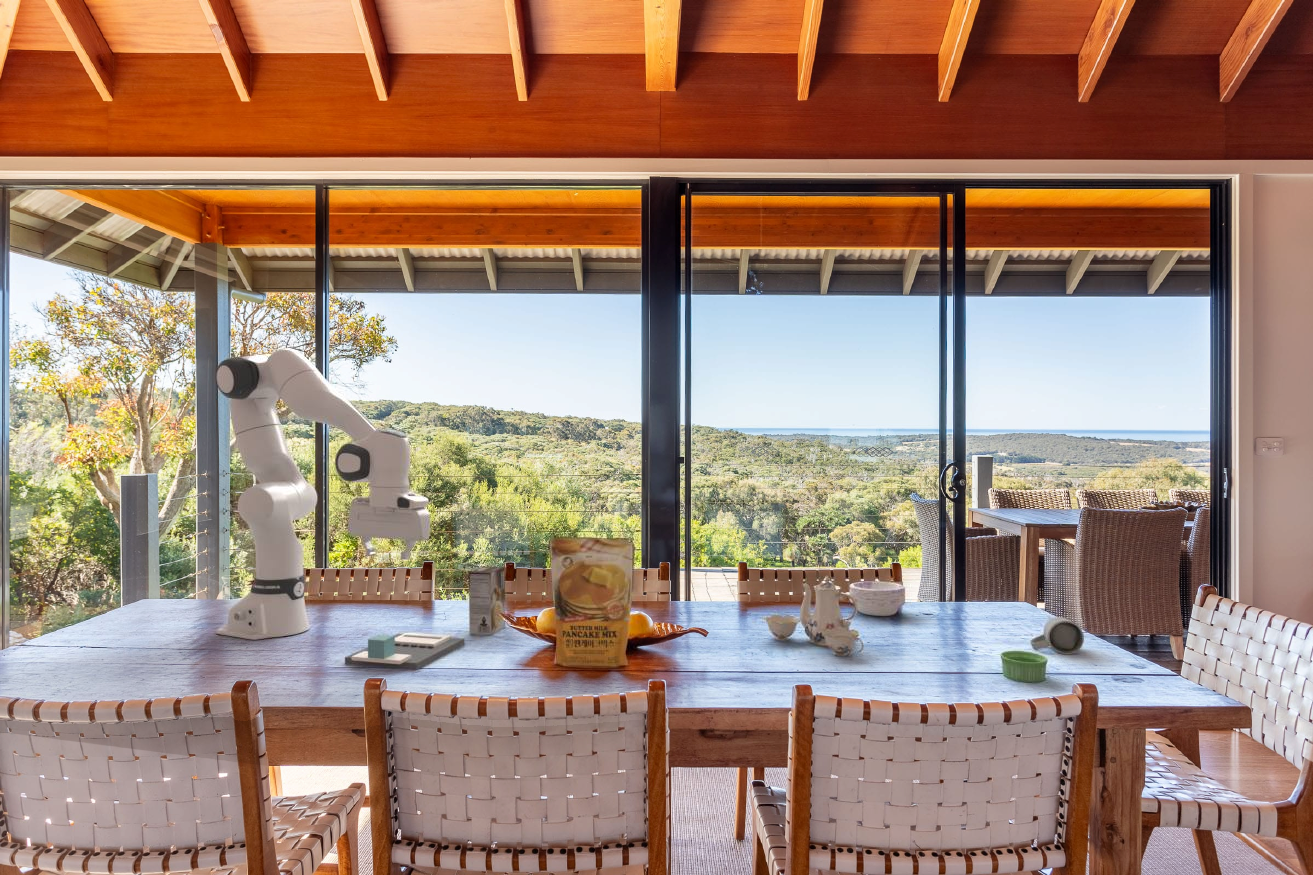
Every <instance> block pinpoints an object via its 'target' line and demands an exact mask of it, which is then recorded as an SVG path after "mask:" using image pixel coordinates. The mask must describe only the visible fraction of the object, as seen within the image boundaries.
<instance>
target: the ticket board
mask: <svg viewBox="0 0 1313 875" xmlns="http://www.w3.org/2000/svg"><path fill="white" fill-rule="evenodd" d="M394 636H395V654H405V655H411V659H409V660H407V661H405V662H403V663H401V664H391V663H379V662H367V661H355V660H352V656H354V655H356V654H359V653H361V652H363V651H368V647H366V648H363V649H361V650H359V651H355V652H354V653H352V654H350V655H346V656H345V657H344V664H345V665H351V666H352V665H354V666H361V667H362V666H363V667H364V666H365V667H375V668H376V667H377V668H387V669H388V668H389V669H398V668H400V669H401V670H412V671H418V670H420V669H422V668H424V667H425V666H427V665H429V664H431V663H433V662H435V661H437V660H439V659H441V658H443V657H444V656H446V655H448V654H450V653H452V652H454V651H455V650H457V649H460V648H461V647H464V646H466V645H465V642H466V641H465V638H461V637H459V638H458V637H452V635H449V634H447V635H446V634H435V633H434V634H433V633H421V632H405V633H397V634H395V635H394ZM453 650H454V651H453Z"/></svg>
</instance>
